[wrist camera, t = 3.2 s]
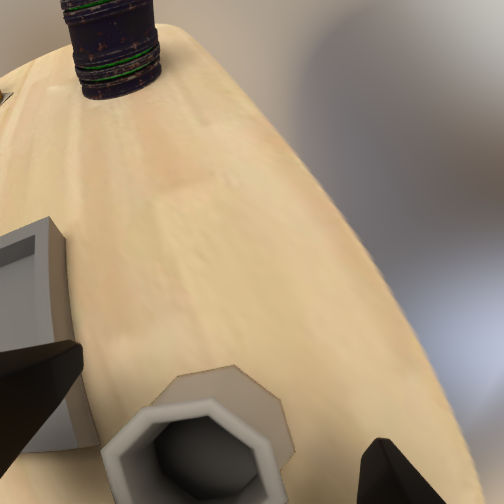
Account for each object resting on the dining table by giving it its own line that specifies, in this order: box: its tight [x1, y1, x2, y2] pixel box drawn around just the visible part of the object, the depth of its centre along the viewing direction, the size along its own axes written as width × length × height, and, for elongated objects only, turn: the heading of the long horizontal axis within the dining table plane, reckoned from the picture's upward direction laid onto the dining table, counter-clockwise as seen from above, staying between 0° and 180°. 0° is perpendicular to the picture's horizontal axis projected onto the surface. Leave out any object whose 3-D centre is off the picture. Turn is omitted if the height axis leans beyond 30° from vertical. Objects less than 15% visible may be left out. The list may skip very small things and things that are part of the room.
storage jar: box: [60, 0, 161, 100], centre depth 22 cm, size 10×10×15 cm
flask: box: [100, 365, 295, 504], centre depth 8 cm, size 7×7×10 cm
